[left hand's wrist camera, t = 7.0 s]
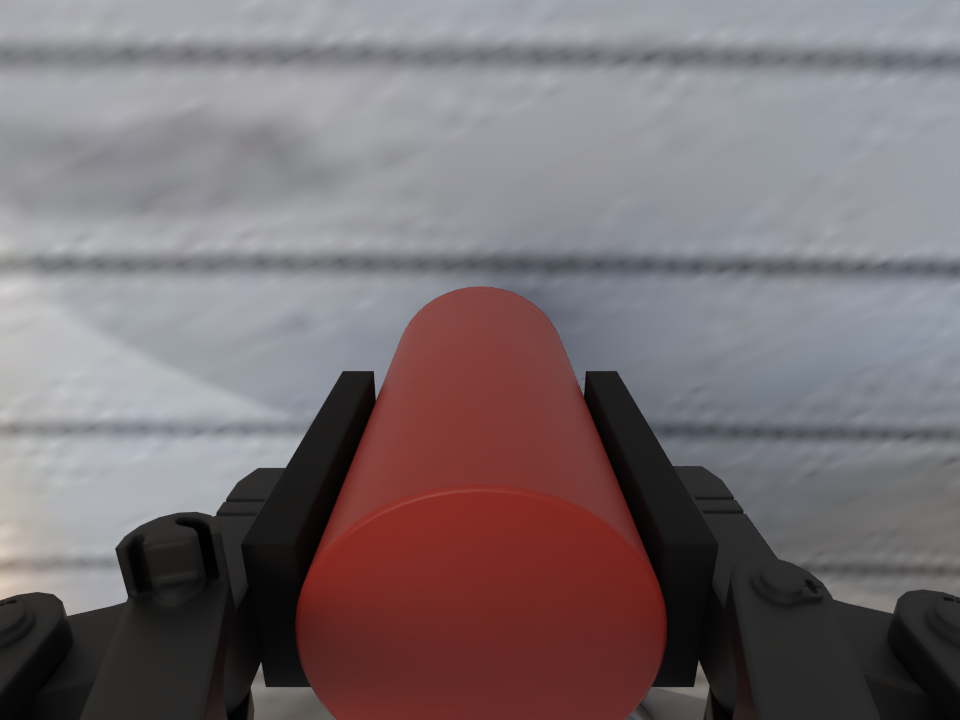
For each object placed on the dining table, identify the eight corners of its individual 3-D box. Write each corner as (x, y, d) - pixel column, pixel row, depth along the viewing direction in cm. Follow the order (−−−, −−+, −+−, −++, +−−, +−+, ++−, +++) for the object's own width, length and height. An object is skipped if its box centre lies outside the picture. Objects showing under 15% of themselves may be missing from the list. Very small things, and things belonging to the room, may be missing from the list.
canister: (593, 324, 17) (740, 564, 8) (523, 463, 19) (571, 809, 9) (431, 259, 17) (360, 430, 7) (373, 410, 18) (251, 720, 9)
